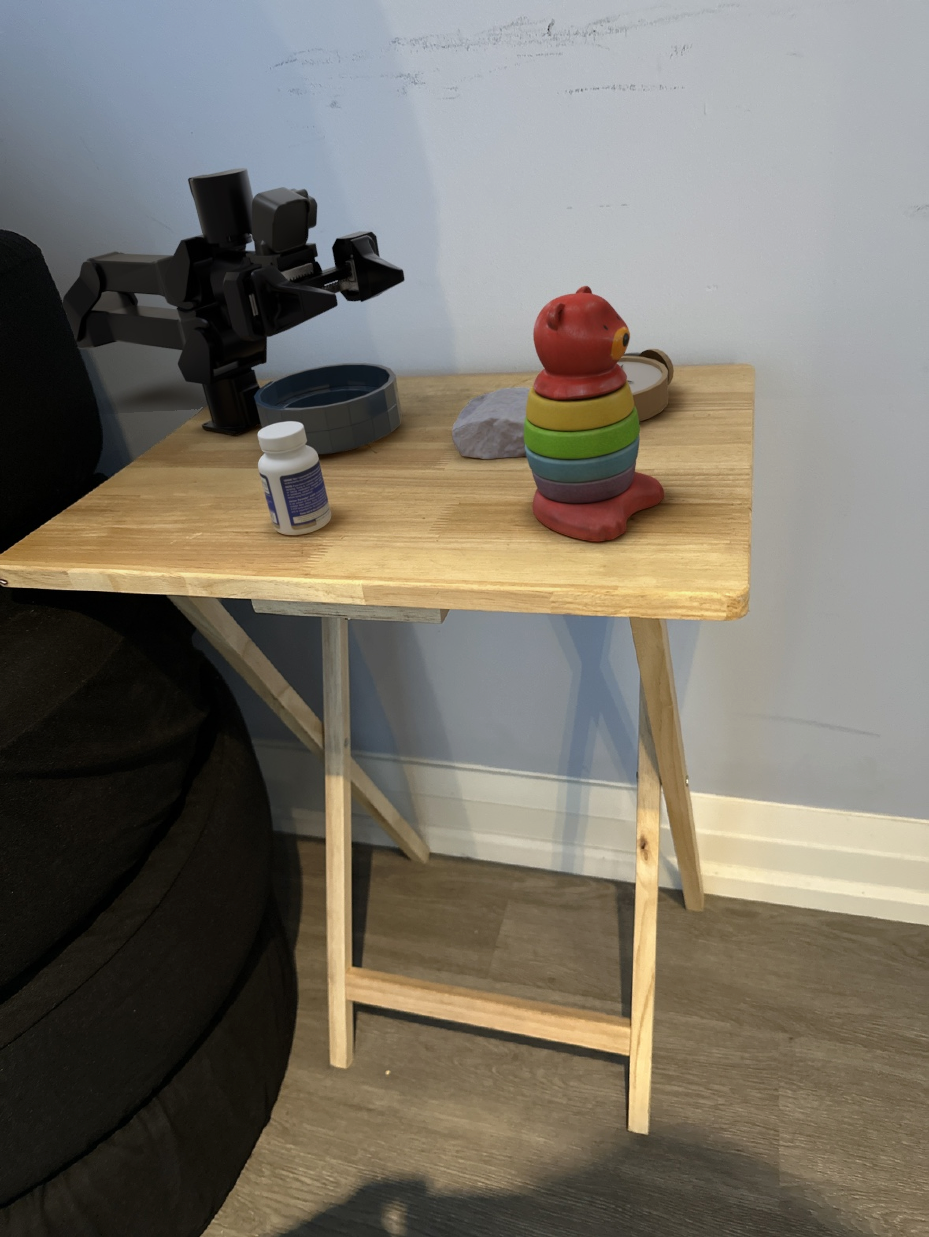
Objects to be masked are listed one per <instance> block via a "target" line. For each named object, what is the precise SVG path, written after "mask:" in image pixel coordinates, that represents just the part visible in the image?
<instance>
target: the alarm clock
mask: <svg viewBox="0 0 929 1237" xmlns="http://www.w3.org/2000/svg"><path fill="white" fill-rule="evenodd" d="M617 364H618V365H619V366H620V367H621V368H622V369H623V370H624V371H625V373H626V375H627V381H628V383H629V386H630V389H631V392H632V396H633V400H634V406H635V407H636V410H637V414H638V419H639V422H642V421H645V420H648V419H651V418H653V417H654V416H656V415H658V414H660V413H661V412H662V411H663V410H665V408H666V407H667V406H668V404H669V398H670V395H669V386H670V384H672V381H673V379H674V364H673V362H672V360H671V358H670V357H669V356H668V354H667V353H665V351H663V350H661V349H658V348H647V349H645V350H643V351H641V352H637V351H636V352H625V353H624V355H623V356H622V357H621V358H620V359H619V361H618V362H617Z"/></svg>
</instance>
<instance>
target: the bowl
mask: <svg viewBox="0 0 929 1237" xmlns="http://www.w3.org/2000/svg"><path fill="white" fill-rule="evenodd" d="M254 398H255V402H256V407H257V411H258V415H259V419H260V423H261V424H260V426H261V429H263V428H264V427H267V426H269V425H272V424H275V423H280V422H287V421H294V422H299V423H302V424H303V426H304V430H305V434H306V439H307V442H306V444H305V445H307V446H310V447H312V448H313V449H314V450H315V451H316V452H317V454H318V456H319V455H320V456H321V455H329V454H330V455H331V454H337V453H343V452H347V451H351V450H355V449H357V448H361V447H364V446H366V445H369V444H372V443H375V442H377V441H378V440H381V439H383V438H385V437H387V436H388V435H390V434H392V433H393V432H394V431H395V430H396V429H397V428H399V427H400V425H401V423H402V420H403V413H402V407H401V401H400V393H399V388H398V382H397V375H396V373H395V372H394V371H393V370H392V368H391V367H387V366H384V365H382V364H375V363H370V362H369V363H367V362H347V363H346V362H345V363H344V362H343V363H335V364H326V365H320V366H316V367H311V368H305V369H302V370H299V371H295V372H292V373H289V374H285V375H282V376H280V377H278V378H276V379H273V380H271V381H269V382H268V383H265V385H263V386H261V387H260V389H259V390H258V391H257V393H256V394H255V395H254Z"/></svg>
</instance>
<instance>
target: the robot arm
mask: <svg viewBox="0 0 929 1237" xmlns="http://www.w3.org/2000/svg"><path fill="white" fill-rule="evenodd" d="M187 182H188V186H189V190H190V193H191V196H192V198H193V202H194V205H195V210H196V213H197V214H196V215H197V218H198V221H199V226H200V229H201V234H198V235H195V236H191V237H187V238H184V239H181V240H180V241H179V243H178V245H177V248H176V249H175V251H174V253H173V255H171V254H145V253H124V252H121V251H120V252H118V251H116V250H115V251H112V252H107V253H104V254H100V255H95V256H93V257H92V256H91V257H89V258H87V259H86V260H85V261H83V262H82V264H81V266H80V271H79V275H78V277H77V279H76V280H75V281H74V282H73V283H72V285H71V286H70V288H69V289H68V290H67V292H66V293H65V294H64V296H63V297H62V303H63V307H64V309H65V311H66V313H67V318H68V320H69V323H70V325H71V329H72V331H73V334H74V338H75V340H76V342H77V344H78V347H77V349H80V350H88V349H94V348H98V347H101V346H102V347H103V346H105V345H109V344H113V343H116V342H120V343H126V344H127V343H128V344H133V345H134V344H135V345H141V346H149V347H154V348H163V349H169V350H177V351H181V354H180V355H179V358H178V361H177V366H178V369H179V371H180V373H181V375H182V378H183V379H184V381H185V382H188V383H194V384H198V385H199V384H201V385H202V389H203V390H202V391H203V394H204V397H205V400H206V403H207V404H206V405H207V407H208V412H209V416H210V420H209V421H206V422H204V423H202V424H201V428H202V430H207V431H213V432H217V433H223V434H227V435H230V436H237V435H240V434H243V433H245V432H246V431H249V430H251V429H253V428H255V427H258V426H261V423H260V419H259V415H258V411H257V407H256V402H255V398H254V395H255V394H256V393H257V391H258V390H259V389H260V388H261V387H260V384H259V383H258V379H257V375H256V371H255V369H253V368H254V367H257V366H260V365H264V364H266V363H267V362H268V361H267V360H268V338H270V337H273V336H276V335H279V334H281V333H284V332H286V331H289V330H291V329H294V328H295V327H297V326H299V325H302V324H303V323H305V322H307V321H310V320H311V319H313V318H316V317H318V316H321V315H322V314H324V313H326V312H328V311H330V310H333V309H335V308H336V307H338V298H337V295H336V294H338V293H340V294H341V296H343V298H344V299H345V300H346V301H347V302H360V303H363V302H366V301H368V300H369V301H370V300H371V299H374V298H376V297H379V296H380V295H382V294H383V293H385V292H387V291H389V290H390V289H392V288H394V287H396V286H398V285H400V284H402V283H403V282H405V279H406V278H405V272H404V269H403V268H401V267H398V266H397V265H395V264H393V263H391V262H389V261H387V260H386V259H383V258H381V257H380V251H379V250H380V249H379V243H378V238H377V237H378V236H377V235H376V234H375V233H374V232H373V231H356V232H352V233H349V234H346V235H342V236H340V237H337V238H335V240H334V242H333V244H332V246H331V251H332V256H333V262H334V266H332V267H329V268H325V269H322V266H321V264H320V263H319V262H318V260H316V258H317V257H319V254H318V249H317V243H316V242H308V240H309V234H310V233H309V232H310V230H311V229H314V228H315V227H316V226H317V225H318V224H317V222H318V221H317V220H318V202H317V200H316V199H315V198H314V197H313V196H311V195H309V192H308V190H307V189H305V188H301V189H296V188H287V187H285V186H282V187H277V188H273V189H269V190H265V191H261V192H258V193H256V194H255V195H254V194H253V189H252V186H251V181H250V176H249V172H248V168H245V167H241V168H240V167H239V168H233V169H227V170H223V171H219V172H214V173H208V174H201V175H197V176H191V177H188V178H187ZM252 242H253V244H254V250H248V249H247V244H250V243H252ZM246 249H247V250H246ZM136 294H137V295H138V294H139V295H151V296H152V295H153V296H161V297H163V298H164V299H165V301H166V303H167V304H169V305H170V306H173V307H176V308H168V307H158V306H149V305H148V306H147V305H138V304H139V299H138V298H137V296H136Z"/></svg>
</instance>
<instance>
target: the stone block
mask: <svg viewBox="0 0 929 1237" xmlns="http://www.w3.org/2000/svg"><path fill="white" fill-rule="evenodd" d="M530 389H531V387H525V386H518V387H517V386H516V387H514V386H513V387H512V386H511V387H503V388H499V389H496V390H495V391H492V392H486V393H485V392H484V393H483V394H481V395H477V396H475V397H473V398H471V399H470V400H469V401H468V404H466V405H465V406H464V407H463V408H462V410H460V412H459V413H458V416H457V418H456V421H455V422H454V423H453V425H452V430H451V435H452V436H451V437H452V443H453V445H454V446H455V448H456V450H457V452H458V453H459V454H460V455H461V456H462V457H469V458H474V459H481V460H493V459H503V458H520V457H527V456H526V452H525V442H524V422H525V417H526V406H527V399H528V394H529V391H530Z"/></svg>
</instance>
